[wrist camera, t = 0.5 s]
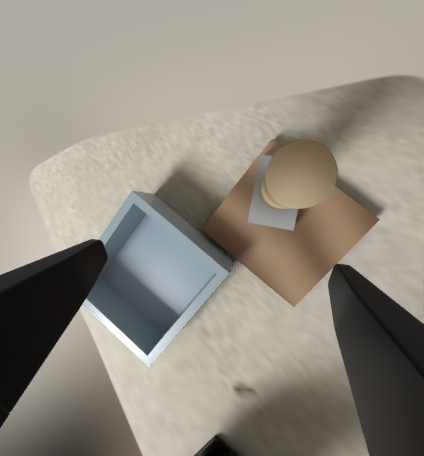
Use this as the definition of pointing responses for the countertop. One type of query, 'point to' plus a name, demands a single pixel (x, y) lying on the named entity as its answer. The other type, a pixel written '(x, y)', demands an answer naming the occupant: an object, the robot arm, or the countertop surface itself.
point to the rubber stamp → (291, 183)
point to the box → (153, 275)
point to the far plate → (288, 236)
